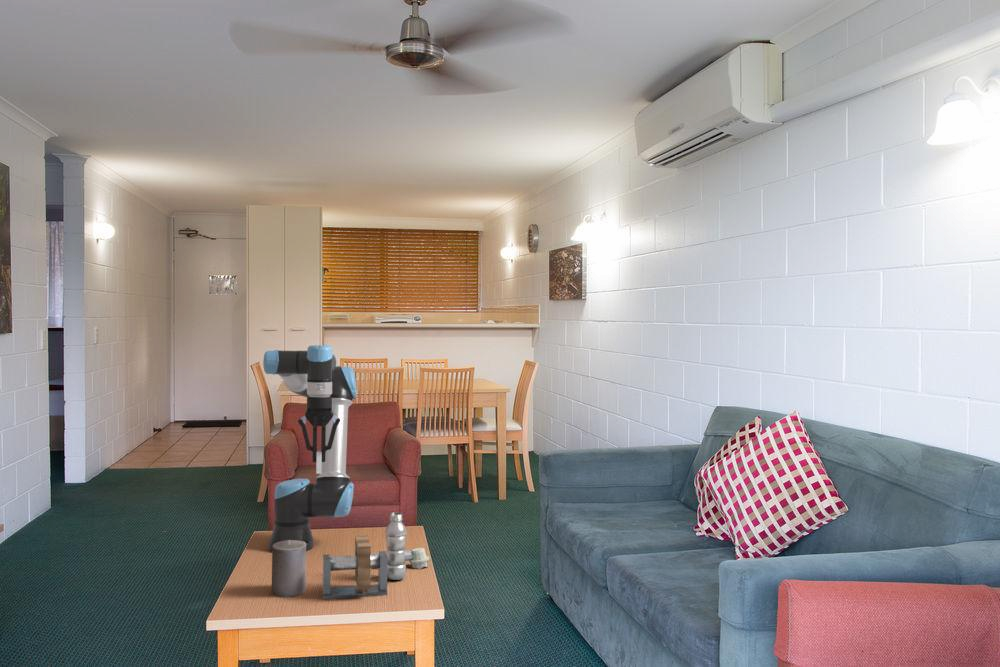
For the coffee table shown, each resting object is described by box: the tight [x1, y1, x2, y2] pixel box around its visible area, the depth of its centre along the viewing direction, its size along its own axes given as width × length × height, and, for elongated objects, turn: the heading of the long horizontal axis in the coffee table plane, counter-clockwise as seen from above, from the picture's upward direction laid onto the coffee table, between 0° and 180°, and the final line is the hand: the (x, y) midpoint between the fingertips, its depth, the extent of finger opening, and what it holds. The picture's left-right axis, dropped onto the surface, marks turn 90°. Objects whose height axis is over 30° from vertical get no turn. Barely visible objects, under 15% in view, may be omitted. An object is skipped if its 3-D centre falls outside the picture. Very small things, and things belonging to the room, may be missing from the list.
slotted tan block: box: [354, 535, 372, 590], centre depth 226 cm, size 12×4×12 cm, turn 15°
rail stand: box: [322, 550, 388, 601], centre depth 226 cm, size 7×18×11 cm, turn 105°
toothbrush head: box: [376, 547, 430, 570], centre depth 250 cm, size 5×7×25 cm
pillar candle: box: [271, 540, 307, 598], centre depth 227 cm, size 10×10×15 cm
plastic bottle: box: [385, 512, 408, 581], centre depth 239 cm, size 6×7×20 cm
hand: (318, 472), depth 238 cm, fingers closed
